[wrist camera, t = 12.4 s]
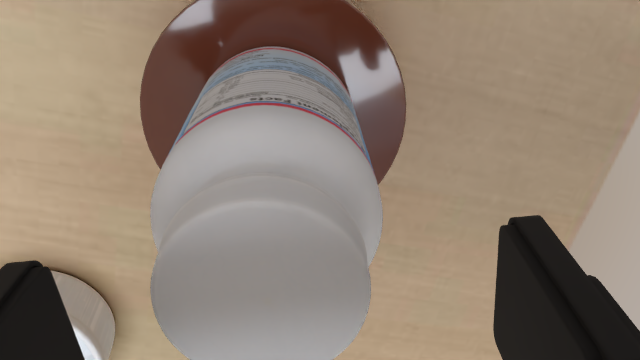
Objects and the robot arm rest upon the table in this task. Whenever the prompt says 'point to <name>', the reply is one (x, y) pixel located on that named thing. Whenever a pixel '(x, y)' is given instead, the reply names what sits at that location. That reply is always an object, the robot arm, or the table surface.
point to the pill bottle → (266, 215)
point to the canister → (274, 31)
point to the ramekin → (87, 316)
